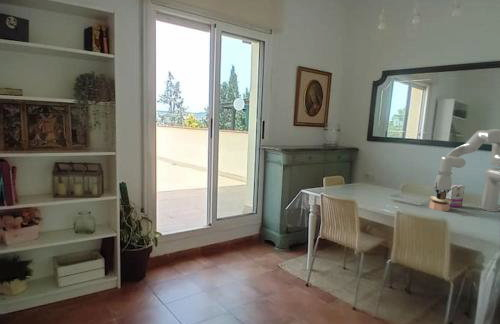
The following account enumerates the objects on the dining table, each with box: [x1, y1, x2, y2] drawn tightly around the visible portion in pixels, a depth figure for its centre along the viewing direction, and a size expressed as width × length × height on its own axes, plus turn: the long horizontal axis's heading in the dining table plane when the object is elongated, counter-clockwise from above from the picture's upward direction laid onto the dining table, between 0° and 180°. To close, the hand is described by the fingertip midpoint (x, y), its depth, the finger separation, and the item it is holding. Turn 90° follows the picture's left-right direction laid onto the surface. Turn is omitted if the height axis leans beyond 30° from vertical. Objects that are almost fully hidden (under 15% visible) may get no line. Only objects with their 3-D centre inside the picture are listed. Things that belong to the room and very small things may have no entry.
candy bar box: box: [446, 184, 465, 208], centre depth 241 cm, size 11×5×16 cm, turn 105°
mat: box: [452, 210, 478, 217], centre depth 224 cm, size 11×11×1 cm
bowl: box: [428, 199, 451, 212], centre depth 233 cm, size 12×12×5 cm
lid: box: [429, 190, 452, 203], centre depth 232 cm, size 14×14×6 cm
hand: (440, 198), depth 233 cm, fingers closed on lid, 3 cm apart
